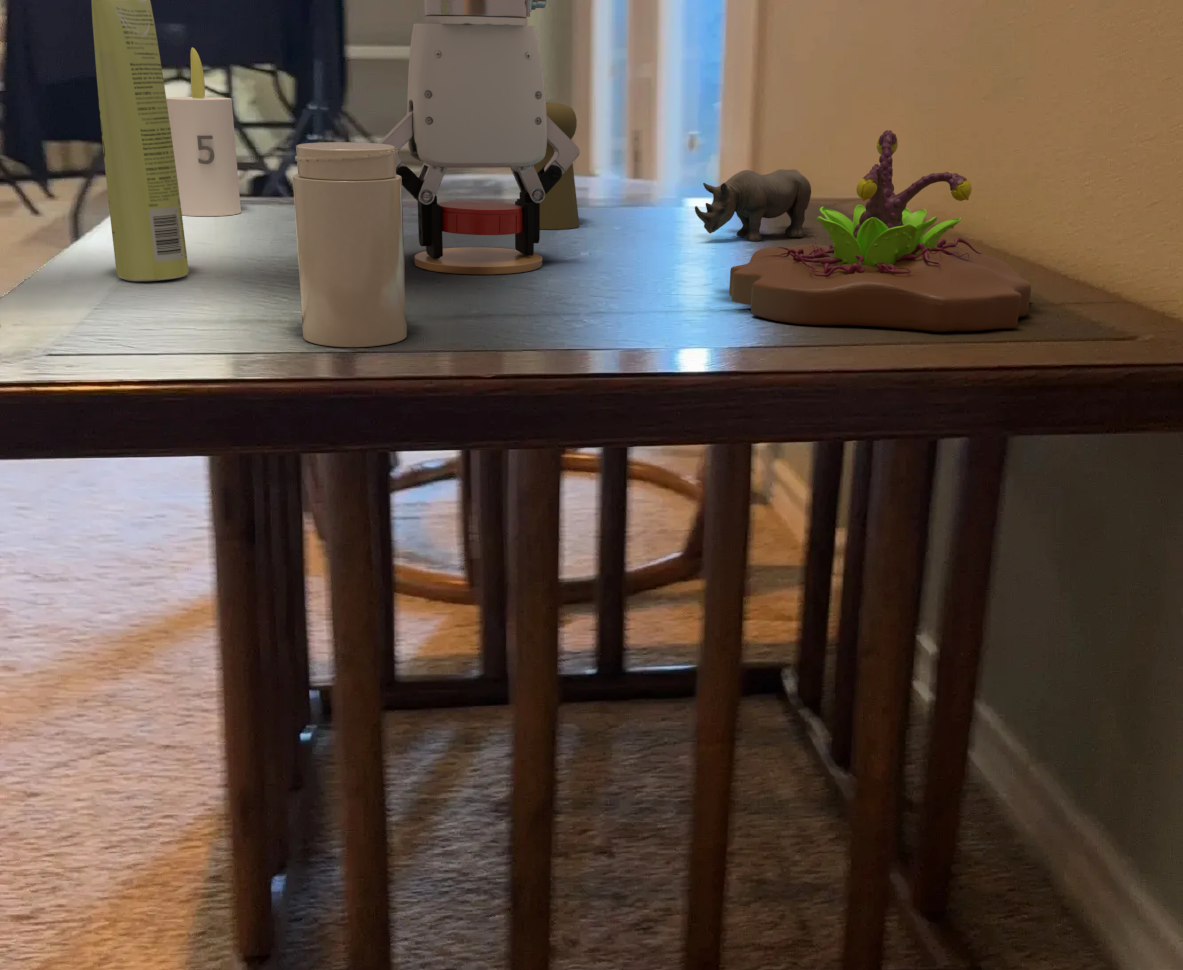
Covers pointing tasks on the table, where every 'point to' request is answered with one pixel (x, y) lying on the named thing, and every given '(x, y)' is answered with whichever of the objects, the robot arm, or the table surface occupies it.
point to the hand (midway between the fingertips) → (479, 252)
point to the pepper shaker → (562, 197)
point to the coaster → (479, 261)
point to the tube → (137, 143)
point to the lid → (481, 218)
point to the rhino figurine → (758, 201)
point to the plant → (884, 268)
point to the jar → (350, 244)
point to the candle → (204, 149)
